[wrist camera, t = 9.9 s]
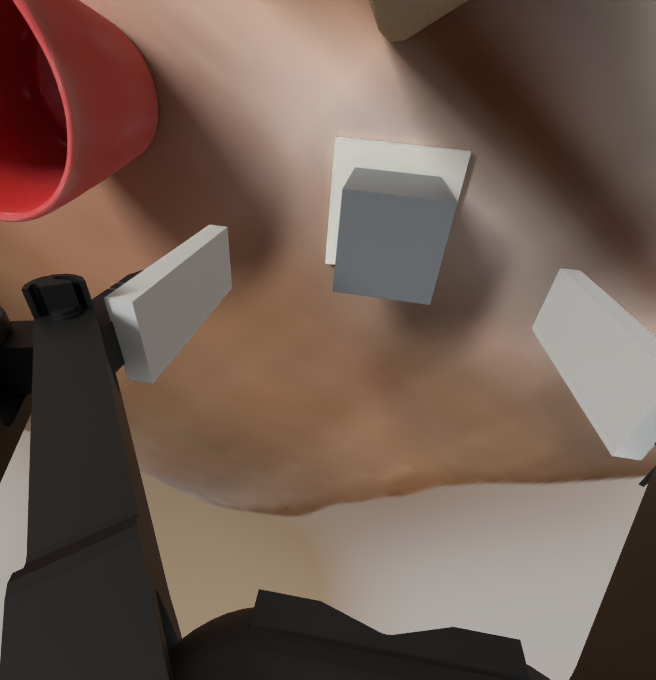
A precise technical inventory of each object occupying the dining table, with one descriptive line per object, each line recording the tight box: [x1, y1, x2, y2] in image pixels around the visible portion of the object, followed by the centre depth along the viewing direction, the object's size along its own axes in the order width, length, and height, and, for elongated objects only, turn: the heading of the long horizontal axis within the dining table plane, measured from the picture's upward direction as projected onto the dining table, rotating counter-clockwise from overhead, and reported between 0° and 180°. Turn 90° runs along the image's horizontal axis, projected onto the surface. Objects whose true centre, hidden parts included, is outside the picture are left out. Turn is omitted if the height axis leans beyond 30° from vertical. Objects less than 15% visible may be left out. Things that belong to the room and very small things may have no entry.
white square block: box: [325, 136, 471, 265], centre depth 21 cm, size 8×8×7 cm
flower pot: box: [0, 0, 159, 222], centre depth 19 cm, size 11×11×10 cm
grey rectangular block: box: [333, 167, 458, 305], centre depth 20 cm, size 5×5×7 cm
